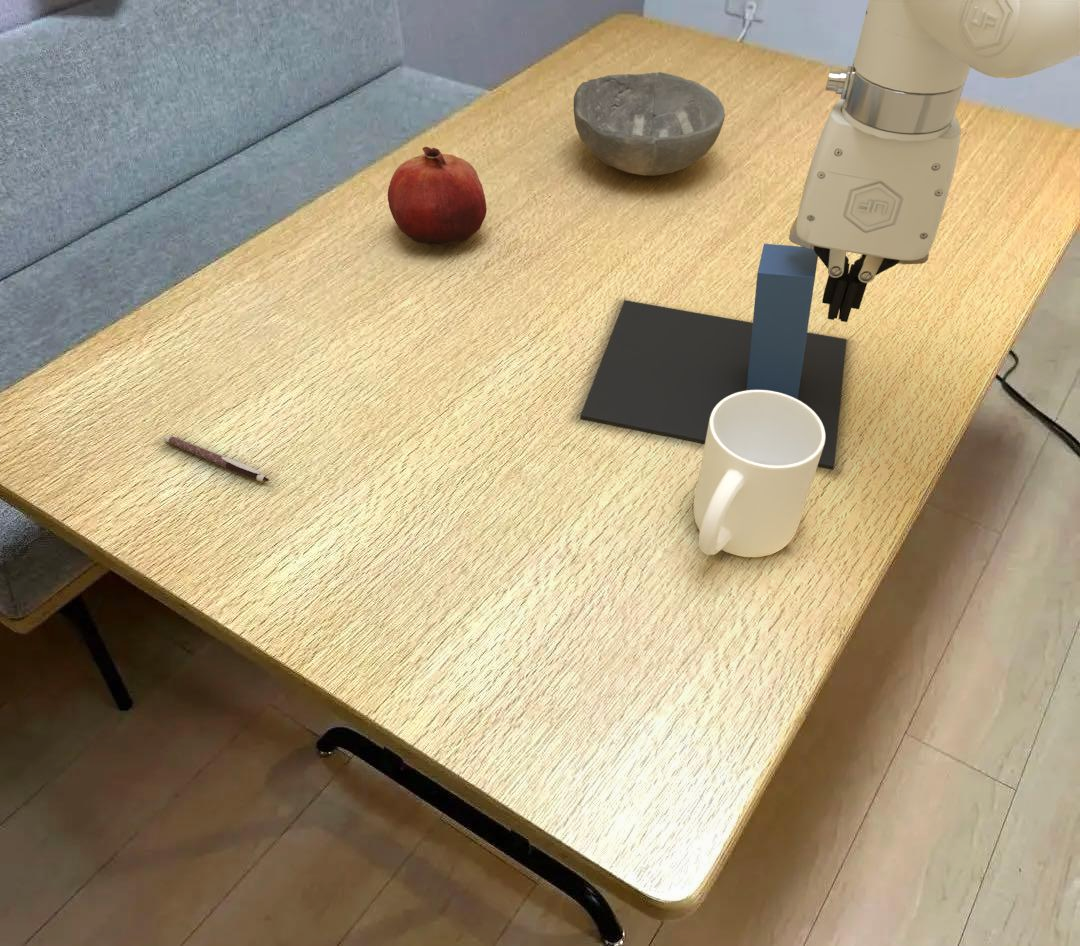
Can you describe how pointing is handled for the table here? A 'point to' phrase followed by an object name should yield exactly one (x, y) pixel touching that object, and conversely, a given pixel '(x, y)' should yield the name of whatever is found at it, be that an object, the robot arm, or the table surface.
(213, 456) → the pen
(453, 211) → the fruit
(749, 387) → the block
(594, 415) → the mat
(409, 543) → the table surface
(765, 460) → the mug
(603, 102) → the bowl
